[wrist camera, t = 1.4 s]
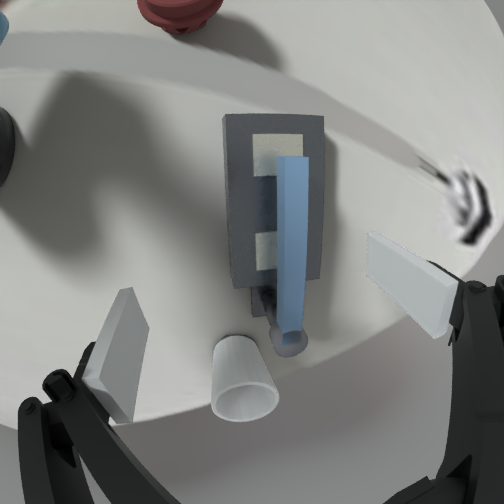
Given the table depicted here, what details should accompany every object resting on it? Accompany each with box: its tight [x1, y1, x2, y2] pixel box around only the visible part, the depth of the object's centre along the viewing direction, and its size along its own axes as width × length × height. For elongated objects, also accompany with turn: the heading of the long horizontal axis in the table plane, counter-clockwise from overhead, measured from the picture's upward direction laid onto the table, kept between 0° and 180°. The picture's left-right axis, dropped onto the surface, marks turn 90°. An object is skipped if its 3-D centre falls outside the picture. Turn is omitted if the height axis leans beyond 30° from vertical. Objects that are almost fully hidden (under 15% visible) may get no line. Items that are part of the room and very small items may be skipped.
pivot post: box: [251, 284, 277, 326], centre depth 41 cm, size 6×6×9 cm
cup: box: [211, 335, 279, 422], centre depth 42 cm, size 10×10×13 cm
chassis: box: [222, 114, 324, 289], centre depth 36 cm, size 12×22×5 cm, turn 2°
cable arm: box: [269, 156, 309, 357], centre depth 31 cm, size 24×4×3 cm, turn 2°
